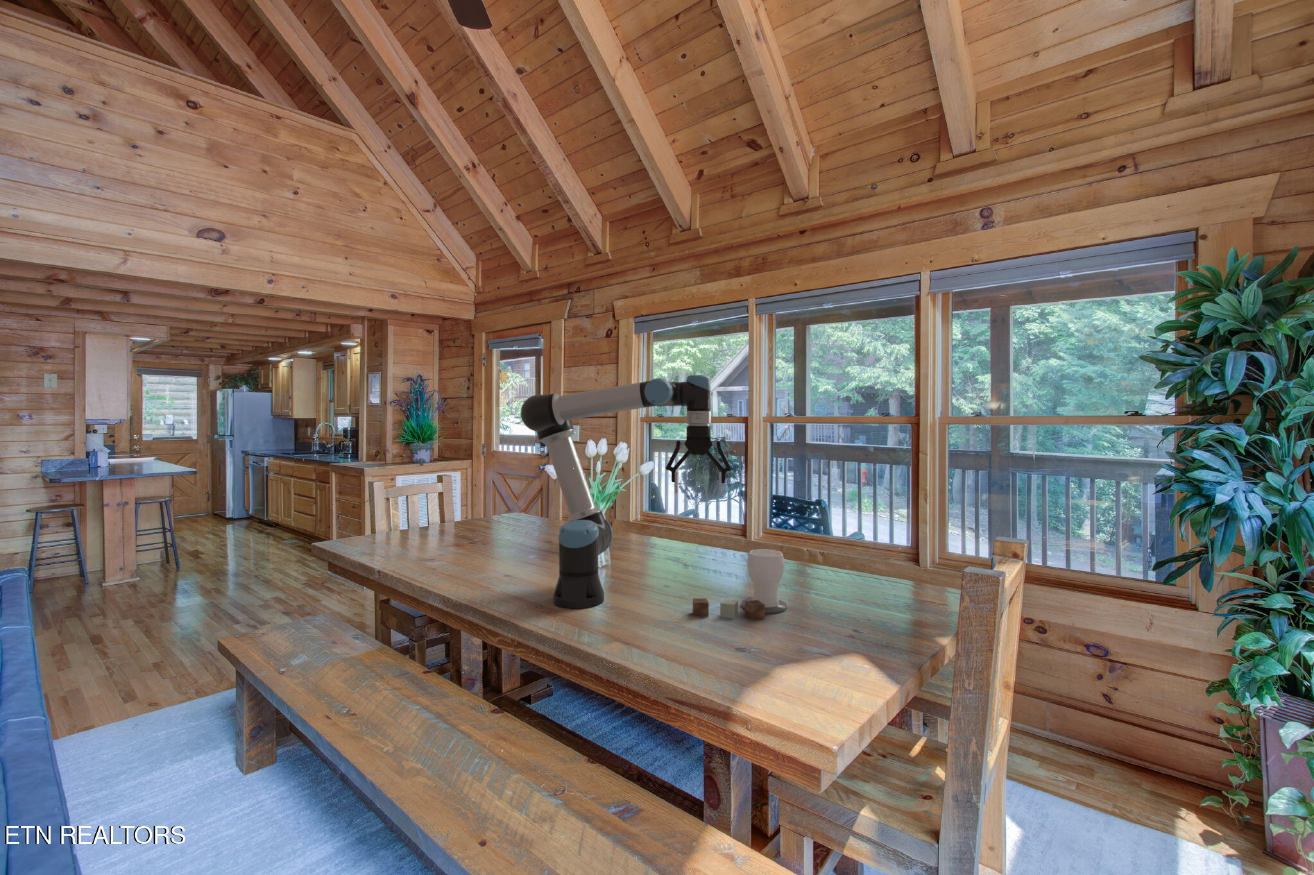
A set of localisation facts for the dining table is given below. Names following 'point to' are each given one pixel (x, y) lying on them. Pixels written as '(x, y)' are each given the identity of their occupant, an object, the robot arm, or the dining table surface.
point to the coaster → (770, 610)
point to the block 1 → (700, 607)
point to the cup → (766, 575)
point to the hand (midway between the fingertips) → (698, 493)
